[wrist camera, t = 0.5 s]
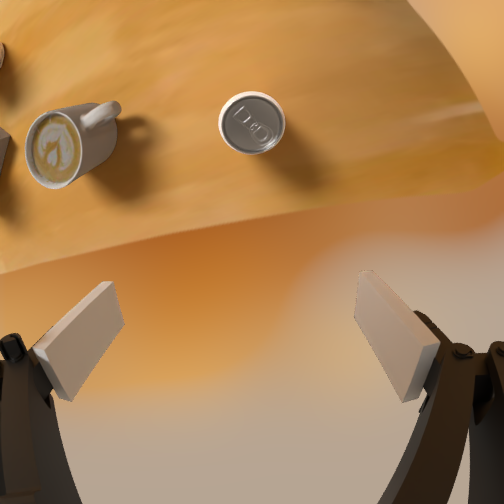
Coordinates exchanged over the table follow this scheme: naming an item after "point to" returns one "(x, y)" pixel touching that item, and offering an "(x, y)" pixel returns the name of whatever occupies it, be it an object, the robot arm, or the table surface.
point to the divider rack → (3, 145)
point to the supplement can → (1, 54)
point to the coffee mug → (70, 142)
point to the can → (251, 122)
